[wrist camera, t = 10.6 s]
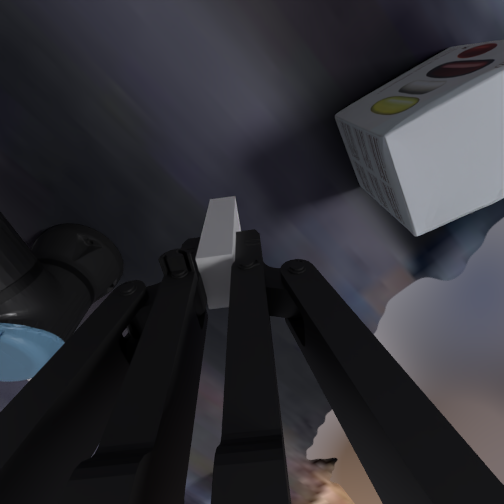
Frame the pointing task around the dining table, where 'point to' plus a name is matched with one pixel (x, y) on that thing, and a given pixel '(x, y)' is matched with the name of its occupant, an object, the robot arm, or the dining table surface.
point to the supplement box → (432, 137)
